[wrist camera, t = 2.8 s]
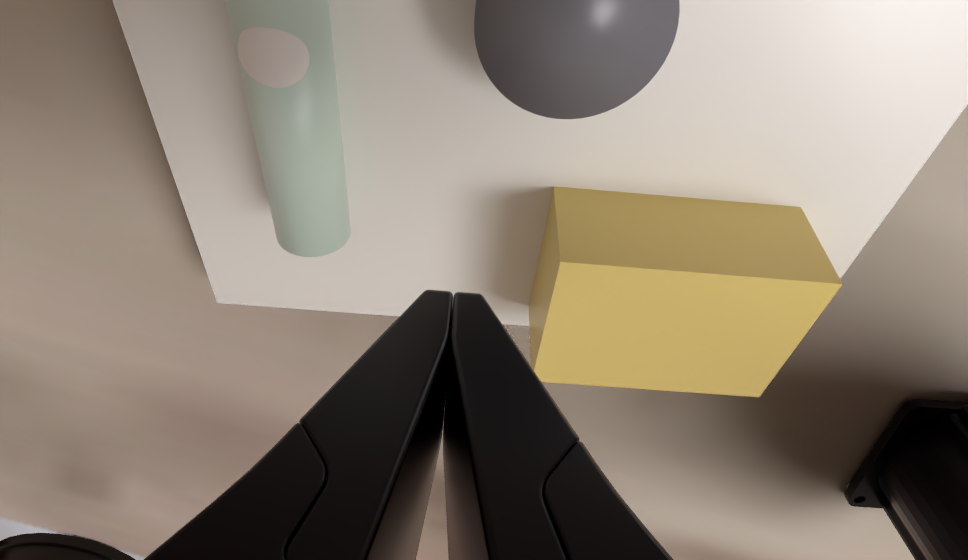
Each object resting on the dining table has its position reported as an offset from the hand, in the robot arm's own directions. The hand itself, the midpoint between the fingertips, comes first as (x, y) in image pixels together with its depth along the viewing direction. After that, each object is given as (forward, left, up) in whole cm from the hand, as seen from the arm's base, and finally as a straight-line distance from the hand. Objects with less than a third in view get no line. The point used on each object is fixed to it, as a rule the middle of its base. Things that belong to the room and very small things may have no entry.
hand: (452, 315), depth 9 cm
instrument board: (0, -2, -9) cm, 10 cm away
